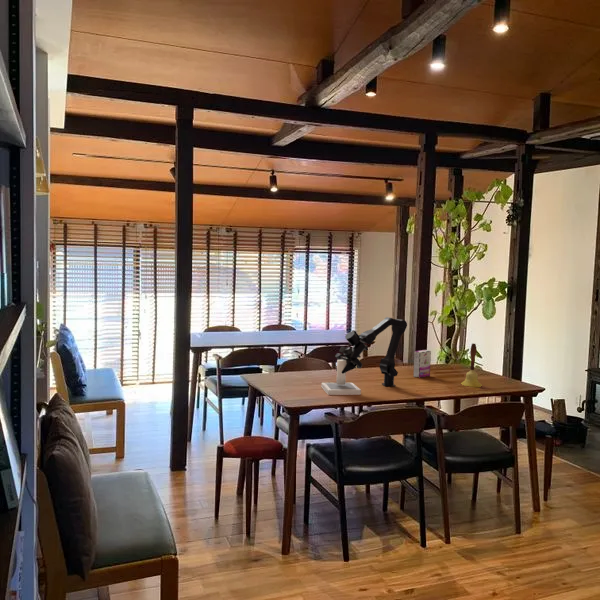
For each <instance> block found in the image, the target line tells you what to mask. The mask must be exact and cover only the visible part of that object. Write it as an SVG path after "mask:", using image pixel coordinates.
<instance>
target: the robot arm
mask: <svg viewBox="0 0 600 600" xmlns="http://www.w3.org/2000/svg"><path fill="white" fill-rule="evenodd" d="M390 326H391V331H392V333H391V334H392V335H391V338H390V341H389V345H388V348H387V351H386V355H385V357H384V358H381V359H380V361H379V364H378V365H379V370H380V373H381V374H382V375H383V382H382V383H381V385H382V386H384V387H397V386H396V384H394V383H395V377H397V376H398V374H399V372H398V371H397V369H396V368H395V367H396V362H395V356H396V353H397V350H398V346H399V342H400V339H401V337H402V335H403V334H404V333H405V331H406V330H407V326H408V322H407V321H406V320H405V319H401V318H393V317H388V316H386V317H385V318H384V319H383V320H381V321H380V322H379V323H378V324H376V325H375V326H373V327H372V328H371V329H369V330H366V331H363V332H361V333H360V334H358V333H357V331H356V330H354V329H353V330H351V331H349V332H347V333H346V334H345V336H344V338H345V340H346V341H347V342H348V344H349V345H350V346H353V347H349V346H348V347H346V346H340V349H339V350H338V351H339V353H338V352H337V353H336V354H335V356H334V357H335V358H336V359H337V360H346V366H345V368H344V369H343V371H342V374H343V373H346V374H347V373H348V372H349V371H352V370H354V369H361V368H362V367H363V363H362V362H361V361H360V359H361V354H362V353H363V352H364V351H366V352H367V351H369V348H368V346H369V345H371V344H372V343H374V341H375V340H376V339H377V336H379V335H380V334H381V333H382V332H384V331H385V330H386V329H388V327H390ZM367 344H368V345H367ZM335 372H337V368H336V369H335Z"/></svg>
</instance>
